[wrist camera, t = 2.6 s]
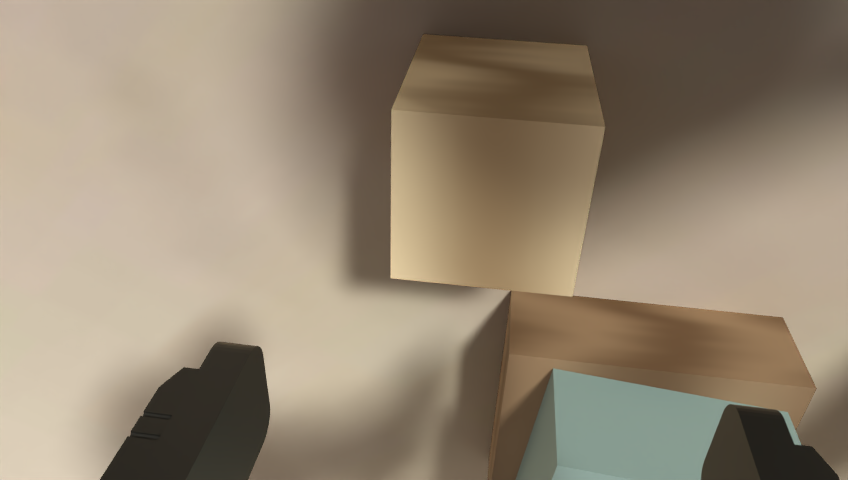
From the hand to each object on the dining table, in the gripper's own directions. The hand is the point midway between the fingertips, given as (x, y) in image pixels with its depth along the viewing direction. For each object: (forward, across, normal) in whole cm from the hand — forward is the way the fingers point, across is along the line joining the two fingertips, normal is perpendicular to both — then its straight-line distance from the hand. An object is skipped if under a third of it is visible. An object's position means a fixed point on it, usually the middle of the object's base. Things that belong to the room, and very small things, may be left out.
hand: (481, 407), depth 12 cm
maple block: (+12, 0, 0) cm, 13 cm away
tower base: (+13, -6, +12) cm, 19 cm away
